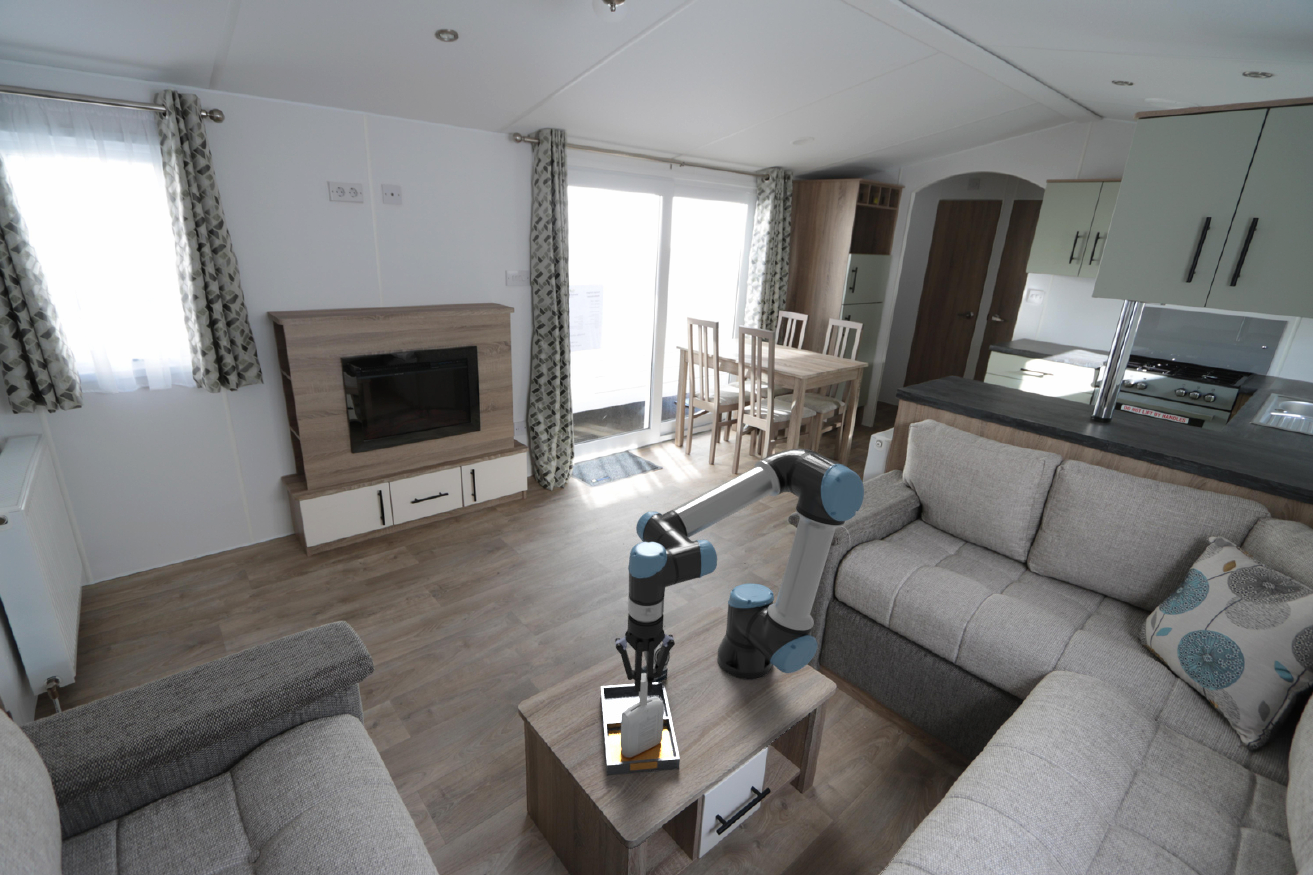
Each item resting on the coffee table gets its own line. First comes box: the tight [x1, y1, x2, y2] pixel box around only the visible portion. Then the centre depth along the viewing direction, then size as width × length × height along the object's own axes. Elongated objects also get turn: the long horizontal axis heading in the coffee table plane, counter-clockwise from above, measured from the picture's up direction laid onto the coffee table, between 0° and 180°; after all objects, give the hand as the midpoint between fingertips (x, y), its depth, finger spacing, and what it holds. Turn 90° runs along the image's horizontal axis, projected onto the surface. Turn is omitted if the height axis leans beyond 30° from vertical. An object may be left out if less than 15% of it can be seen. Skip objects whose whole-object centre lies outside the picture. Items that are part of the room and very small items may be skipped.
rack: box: [600, 681, 681, 776], centre depth 146 cm, size 16×24×3 cm
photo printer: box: [620, 697, 664, 758], centre depth 139 cm, size 10×4×12 cm, turn 123°
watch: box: [641, 643, 671, 683], centre depth 162 cm, size 6×8×11 cm
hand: (642, 700), depth 136 cm, fingers closed
